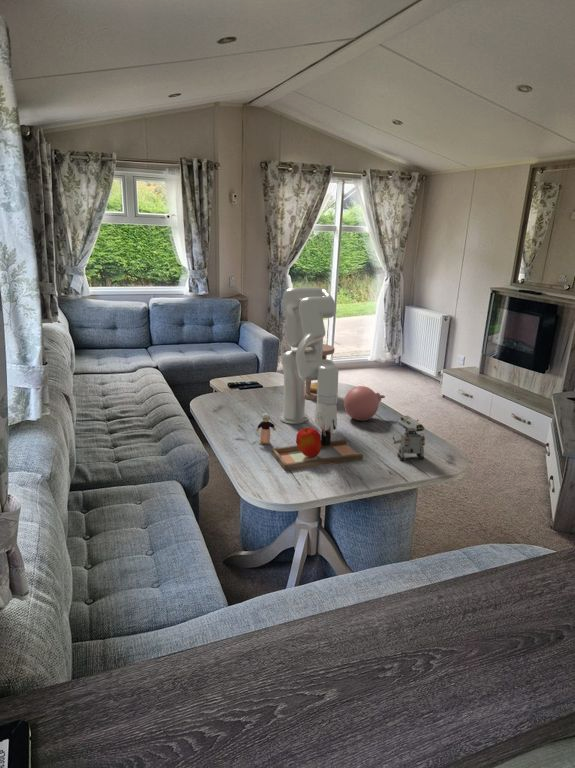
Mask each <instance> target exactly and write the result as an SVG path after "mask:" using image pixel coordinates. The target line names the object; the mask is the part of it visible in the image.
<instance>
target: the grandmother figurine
mask: <svg viewBox="0 0 575 768" xmlns="http://www.w3.org/2000/svg"><path fill="white" fill-rule="evenodd" d="M261 419H262V421H261V422H260V423H259V424H258V425H257V427H256V429H255V430H256V432H259V430H260V437H259V442H258V445H264V444H265V445H270V444H271V442H270V440H271V429H272V430H273V431H276V427H275V424H274V423H272V422H271V421H270V419H271V415H270V414H269V413H267V412H265V413H263V414H262V416H261ZM270 428H271V429H270Z"/></svg>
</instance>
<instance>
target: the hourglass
mask: <svg viewBox="0 0 575 768" xmlns="http://www.w3.org/2000/svg"><path fill="white" fill-rule="evenodd" d="M310 349H311V347H306V348H305V350H310ZM335 349H336V348H335V347H334V346H333V345H330V344H324V343H323V352H322V360H327V356H329V355H333V354H334V353H335ZM305 400H310V401H317V381H315V382H312V381H305Z"/></svg>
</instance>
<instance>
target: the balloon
mask: <svg viewBox="0 0 575 768" xmlns="http://www.w3.org/2000/svg"><path fill="white" fill-rule="evenodd" d="M385 398H386V396H385V395H383V394H381V393H379V392H375V391H374V390H373V389H372V388H370V387H367V386H364V385H359V386H355V387H352V388H351V389H349V390H348V392H347V393H346V394H345V396H344V400H343V408H344V409H345V413H346V414H347V415H348V416H349V417H350V418H351V419H353V420H356V421H367V420H369V419H371V418H373V417H374V416H375V415H376V414H377V412H378V409H379V405H380V402H381V401H382V399H385Z"/></svg>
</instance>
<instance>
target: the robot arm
mask: <svg viewBox="0 0 575 768" xmlns="http://www.w3.org/2000/svg"><path fill="white" fill-rule="evenodd" d="M282 294H283V295H282V302H283V306H284V311H285V315H286V324H285V325H286V328H285V330H286V331H285V332H286V333H285V342H286V345H287V346H288V347H290V348H293V349H294V350H293V349H291V350H287V351H285V352H283V354H282V356H281V365H282V371H283V407H282V408H283V409H282V411H283V412H282V413H281V414H280V415H279V420H280V421H281V422H283V423H285V424H290V425H291V424H294V425H297V424H304V423H306V422H307V421H308V419H309V416H308V415H307V414H305V413H306V412H305V410H306V409H305V408H306V399H305V387H306V382H305V381H311V382H312V381H316V383H317V400H316V405H315V414H314V423H315V425H316V426H318V428H320V436H321V445H322V446H328V445H330V442H331V441H332V439H331V438H332V437H331V436H332V435H334V434H335V433H334V430H337V426H338V425H337V424H338V411H337V410H338V409H337V407H338V406H337V403H338V396H339V394H338V391H339V367H338V366H337V365H336V364H335V362H334V361H332V360H331V359H326V360H322V352H323V344H324V337H325V336H326V328H325V327H326V326H325V323H324V319H329V318H330V319H331V318H333V317H335V315H336V313H337V308H336V307H337V306H336V302H335V299H334V298H333V296H332V294H330V293H329V292H328V290H326V289H325V288H324V287H320V286H317V287H316V286H315V287H314V286H313V287H312V286H310V287H307V286H304V287H302V286H299V287H290V288H286V289H285V290H284V292H283V293H282ZM306 347H311V349H310V350H305V348H306Z"/></svg>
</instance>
